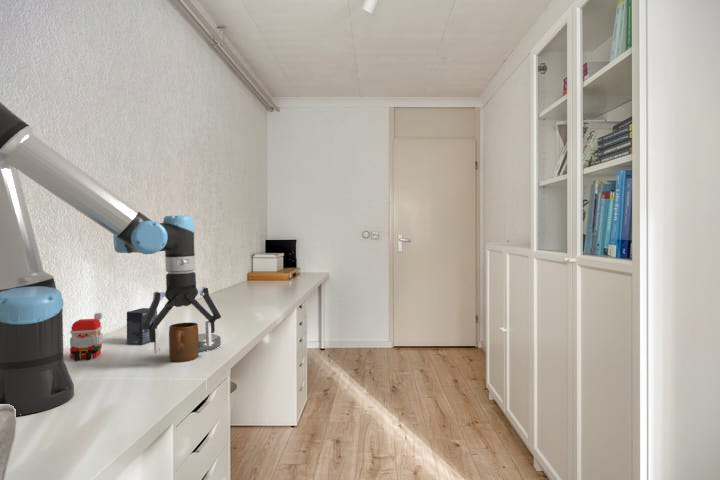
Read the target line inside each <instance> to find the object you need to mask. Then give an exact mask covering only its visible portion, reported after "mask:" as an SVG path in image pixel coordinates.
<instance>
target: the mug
mask: <svg viewBox="0 0 720 480" xmlns="http://www.w3.org/2000/svg"><path fill="white" fill-rule="evenodd" d="M168 328H169V329H168V349H169V350H168V351H169V355H168V356H169V359H170V361H172V362H175V363H183V362H184V363H185V362H190V361H193V360H196V359H197V358H198V357H199V353H200V352H199V342H198V334H199V325H198V323H197V322H179V323H174V324H171V325H169V327H168Z"/></svg>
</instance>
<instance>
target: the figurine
mask: <svg viewBox="0 0 720 480" xmlns="http://www.w3.org/2000/svg"><path fill="white" fill-rule="evenodd" d="M93 316H94V317H93V318H84V319H78V320H76V321H75V322H73V323H72V326H71V327H70V328H71V330H70V331H69V332H70V334H71V337H69V351H70V353H69V357H70V359H72V360H74V362H78V361H81V360H86V361H88V360H89V361H90V360H93V359H96V358H97V357H99V355H101V352H102V351H101V350H102V347H103V344H102V343H103V332H102V331H101V330H102V329H103V326H102V325H101V324H102V323H101V320H102V319H103V312H95V313H94V315H93Z"/></svg>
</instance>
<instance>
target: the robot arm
mask: <svg viewBox="0 0 720 480" xmlns="http://www.w3.org/2000/svg"><path fill="white" fill-rule="evenodd" d="M19 172H20V173H21V174H23V175H24V176H26V177H27V178H29V179H30V180H32V181H33V182H35V183H36V184H38V185H39V186H40V187H42V188H44V189H45V190H47V191H48V192H49V193H51V194H53V195H54V196H55V197H57V198H59V199H60V200H61V201H63V202H64V203H66V204H67V205H68V206H70V207H72V208H74V209H75V210H76V211H78V212H80V213H81V214H83V215H84V216H86V218H89V220H92V221H93V222H94V223H96V224H98V225H99V226H100V227H102V228H103V229H105V230H106V231H108V232H109V233H111V234H112V235H113V236H112V237H113V239H112V240H113V248H114V251H115V252H116V253H118V254H132V253H135V254H138V253H140V254H142V255H154V254H156V253H158V252H164V255H165V256H164V257H165V272H168V273H167V274H165V280H166V281H165V283H166V284H165V285H166V289H165V292H159V291H154V292H153V298H152V299H153V300H152V302H151V304H150V306H149V307H148V308H149V310H148V312H147V314H146V316H145V318H144V320H143V322H142V325H141V327H142V328H143V329H148V330H149V337H150V342H149V343H153V348H154V349H153V351H154V355H156V356H160V334H159V333H160V331H159V329H158V326H159V325H160V323H161V322H162V321H163V320H164V319H165V317H166V316H167V315H168V313H169V312H170V311H171V310H172V309H173V308H174V307H176V308H180V307H182V306H184V307H189V306H190V305H192V306H193V307H194V308H195V309H196V310H197V311H199V313H201V315H203V316H204V318H205V319H207V320H206V321H205V322H204V323H205V334H206V344H207V345H208V346H212V340H211V334H213V333H214V334H215V332H216V331H215V330H216V329H215V322H216V320H220V319H221V317H222V316H221V314H220V312H219V310H218V308H217V307H216V305H215V303H214V302H213V300H212V298H211V296H210V293H209V289H208V288H207V287H204V286H202V287H200V288H197V281H196V280H197V278H196V277H197V275H196V272H195V270H196V259H195V258H196V257H195V253H196V252H195V233H196V232H195V227H194V226H195V225H194V219H193V217H191V216H190V215H182V214H181V215H166V216H164V217H163V221H162V222H161V223H160V222H157V221H155V220H152V219H150V218H149V217H148V216H146V215H144V214H143V213H142V212H140V211H139V210H138V209H136V208H135V207H133V206H132V205H131V204H129V203H128V202H127V201H125V200H124V199H123V198H121V197H119V196H118V195H117V194H116V193H114V192H113V191H112V190H110V189H109V188H107V187H106V186H105V185H103V184H101V183H100V182H99V181H98V180H96V179H95V178H94V177H92V176H91V175H89V174H88V173H87V172H85V171H84V170H82V169H81V168H79V167H78V166H77V165H76V164H74V163H73V162H72V161H70V160H69V159H68V158H66V157H65V156H63V155H62V154H60V153H59V152H57V150H55V149H53V148H52V147H51V146H50V145H48V144H46V143H45V142H44V141H42V140H41V139H40V138H38V137H37V136H35V134H34V133H33V128H32V126H31V125H29V124H27V122H25V121H24V120H22V118H20V117H18V115H16V114H15V113H14V112H12V111H11V110H10V109H9V108H8V107H6V105H5V104H3V103H2V102H0V404H10V405H12V406H14V408H15V409H16V416H15V417H18V415H20V414H26V415H30V413H31V414H35V412H36V413H39V412H43V411H47V410H51V409H53V408H56V407H59V406H61V405H63V404H65V403H68V402H69V401H70V400H71V399H73V397H74V396H75V386H74V385H75V384H74V382H73V379H72V378H71V374H70V373H69V370H68V368H67V366H66V363H65V361H64V327H63V326H64V325H63V324H64V323H63V322H64V320H63V318H64V317H63V311H64V310H63V307H64V300H63V295H62V292H61V291H60V290H59V289H58V288H57V286H56V282H55V279H54V276H53V275H51V274H50V273H48V272H46V271H45V270H44V267H43V263H42V259H41V255H40V251H39V247H38V243H37V239H36V236H35V233H34V228H33V224H32V222H31V217H30V216H31V215H30V213H29V209H28V205H27V201H26V198H25V194H24V189H23V185H22V182H21V179H20V175H19ZM198 295H200V296H202V298H203V300H204V302H205V303H206V305H207V306H208V308H209V310H210V312H211V314H210V312H209V311H207V310H206V309H205V307H203V306H202V305H201V303H199V302H198V300H197V299H196V297H197V296H198ZM164 297H165V298H166V299H167V302H166V303H165V304H164V307H163V308H162V309H161V310H160V311H159V312H158V313H157V316H156V318H155V319H154V320H153V322H152V323H151V324H150V322H151V319H152V317H153V315H154V313H155V311H156V309H157V310H158V306H159V305H160V302H161V301H162V300H163V298H164ZM156 327H157V328H156ZM58 405H59V406H58ZM55 406H56V407H55ZM20 416H21V415H20Z"/></svg>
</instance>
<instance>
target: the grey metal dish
mask: <svg viewBox="0 0 720 480" xmlns="http://www.w3.org/2000/svg"><path fill="white" fill-rule="evenodd" d="M211 340H212V346H208V345H207V344H206V333H198V342H199V353H204V352H203V351H205V352H208V351H207V350H210V351H213V350H212V349H214V350H216V349H215V348H217V347H219V346H220V345H221V336H219V335H218V334H215V333H214V334H213V333H211ZM220 347H221V346H220ZM220 347H219V348H220ZM217 349H218V348H217Z"/></svg>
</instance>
